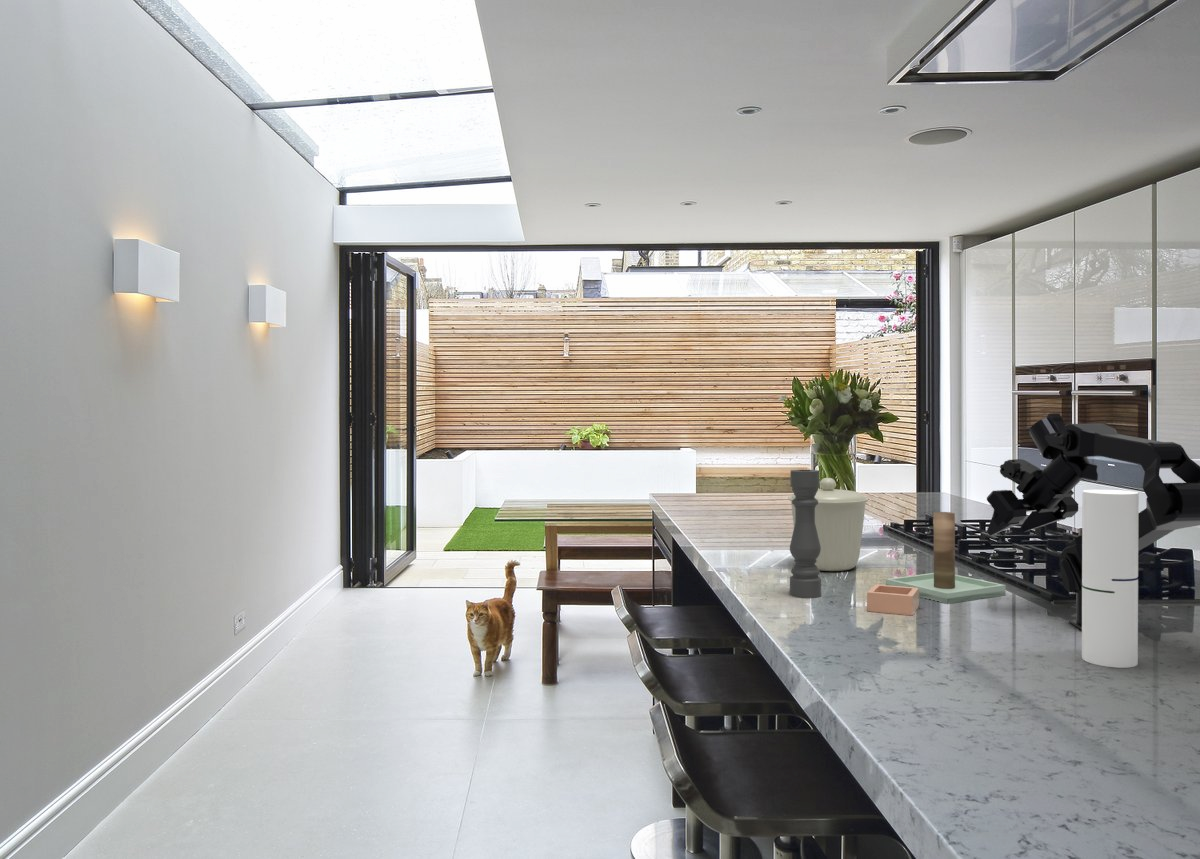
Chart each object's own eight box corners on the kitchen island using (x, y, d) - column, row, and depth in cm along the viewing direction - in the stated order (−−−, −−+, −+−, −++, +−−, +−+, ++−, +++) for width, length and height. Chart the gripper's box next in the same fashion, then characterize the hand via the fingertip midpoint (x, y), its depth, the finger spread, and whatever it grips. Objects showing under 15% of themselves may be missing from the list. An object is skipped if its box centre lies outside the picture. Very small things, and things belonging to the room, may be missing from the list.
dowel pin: (950, 589, 175) (949, 514, 175) (930, 587, 178) (930, 513, 178) (958, 586, 178) (957, 512, 178) (938, 584, 181) (938, 511, 180)
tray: (1005, 595, 174) (1005, 585, 174) (947, 603, 167) (947, 593, 167) (941, 581, 189) (941, 571, 189) (885, 588, 182) (885, 579, 182)
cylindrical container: (1145, 668, 126) (1146, 494, 125) (1091, 666, 127) (1092, 494, 126) (1126, 654, 133) (1127, 489, 132) (1075, 652, 134) (1075, 489, 133)
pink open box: (918, 606, 166) (918, 587, 166) (912, 615, 159) (912, 596, 158) (875, 602, 169) (875, 584, 169) (867, 611, 162) (866, 592, 162)
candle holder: (818, 591, 180) (818, 469, 179) (823, 598, 173) (823, 471, 173) (788, 591, 180) (787, 469, 180) (791, 597, 174) (791, 471, 173)
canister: (773, 565, 210) (772, 476, 209) (833, 558, 217) (832, 473, 217) (822, 578, 193) (822, 482, 193) (885, 570, 201) (885, 478, 201)
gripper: (1063, 443, 167) (1013, 496, 177) (995, 446, 158) (946, 502, 168) (1103, 488, 160) (1048, 540, 170) (1034, 494, 151) (980, 548, 162)
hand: (1005, 531), depth 168 cm, fingers open, 9 cm apart
